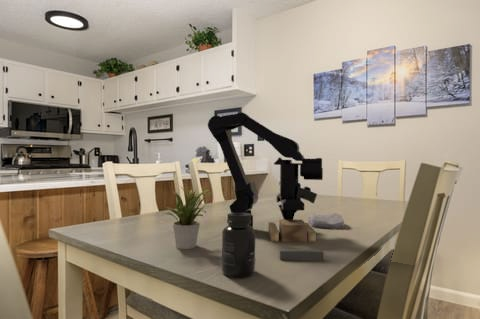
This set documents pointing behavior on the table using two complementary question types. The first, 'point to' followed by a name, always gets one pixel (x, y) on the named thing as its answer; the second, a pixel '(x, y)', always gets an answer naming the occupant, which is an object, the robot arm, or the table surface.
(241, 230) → the supplement bottle
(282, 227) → the walnut block
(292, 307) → the table surface
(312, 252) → the bar
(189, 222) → the house plant
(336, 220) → the stone block
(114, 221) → the table surface
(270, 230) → the oak chute
